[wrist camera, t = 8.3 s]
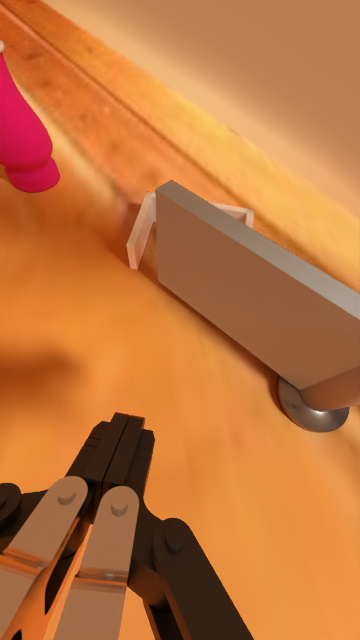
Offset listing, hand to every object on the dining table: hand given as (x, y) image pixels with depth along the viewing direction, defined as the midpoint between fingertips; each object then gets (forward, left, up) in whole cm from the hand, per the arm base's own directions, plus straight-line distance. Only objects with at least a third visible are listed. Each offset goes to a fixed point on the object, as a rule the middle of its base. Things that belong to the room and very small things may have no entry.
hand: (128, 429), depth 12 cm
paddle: (-7, -10, -7) cm, 14 cm away
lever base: (-14, -6, -8) cm, 17 cm away
